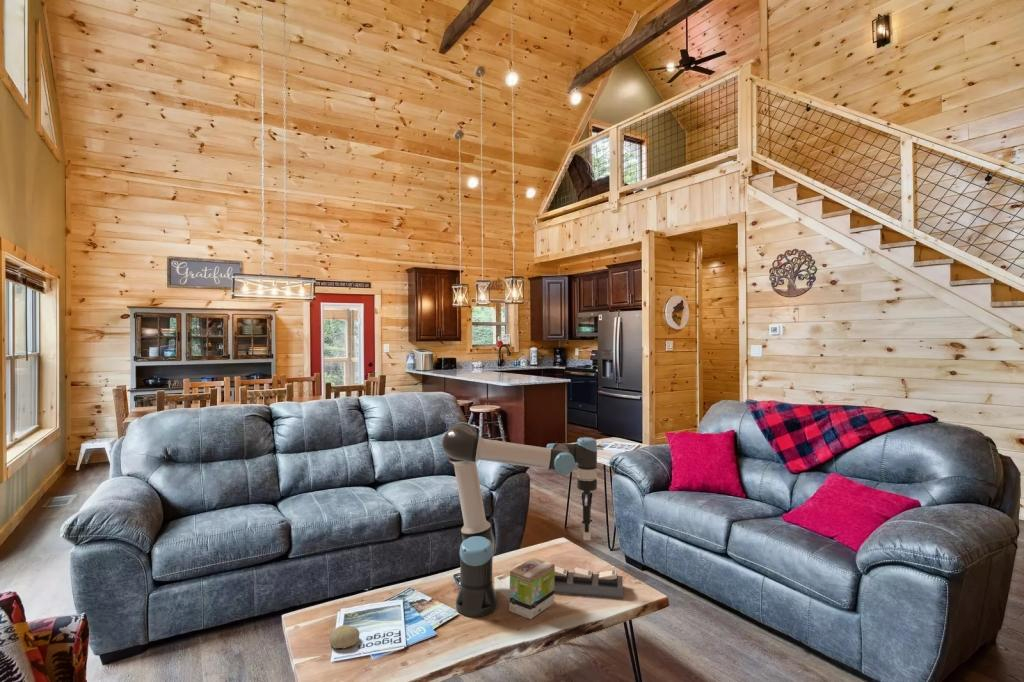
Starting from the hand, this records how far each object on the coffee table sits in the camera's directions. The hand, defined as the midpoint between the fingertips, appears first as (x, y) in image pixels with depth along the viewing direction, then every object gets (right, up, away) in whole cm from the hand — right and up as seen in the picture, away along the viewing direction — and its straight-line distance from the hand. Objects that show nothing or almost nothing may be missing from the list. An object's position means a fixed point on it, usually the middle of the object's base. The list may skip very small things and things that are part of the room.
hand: (586, 539), depth 209 cm
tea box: (-21, -20, -13) cm, 32 cm away
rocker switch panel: (-1, -19, 0) cm, 19 cm away
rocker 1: (-11, -13, +2) cm, 17 cm away
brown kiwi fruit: (-83, -21, -35) cm, 92 cm away
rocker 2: (-2, -13, 0) cm, 13 cm away
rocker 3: (+8, -13, -2) cm, 15 cm away
